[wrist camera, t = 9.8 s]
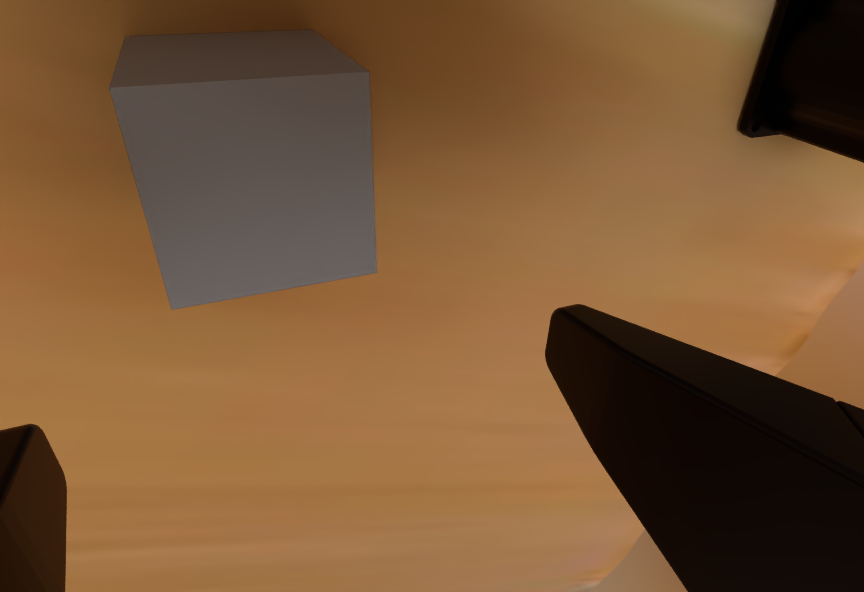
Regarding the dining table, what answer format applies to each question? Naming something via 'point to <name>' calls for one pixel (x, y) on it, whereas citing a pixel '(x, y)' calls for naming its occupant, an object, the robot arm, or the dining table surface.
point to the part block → (249, 160)
